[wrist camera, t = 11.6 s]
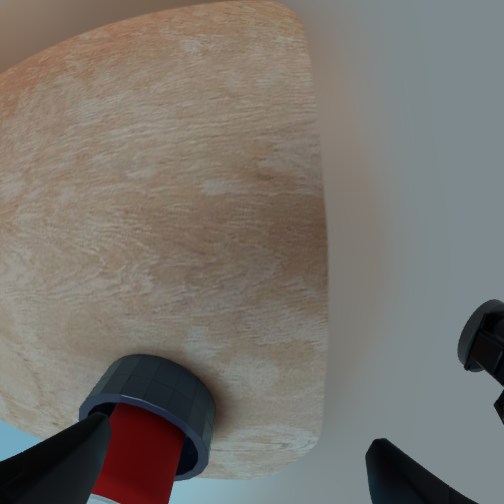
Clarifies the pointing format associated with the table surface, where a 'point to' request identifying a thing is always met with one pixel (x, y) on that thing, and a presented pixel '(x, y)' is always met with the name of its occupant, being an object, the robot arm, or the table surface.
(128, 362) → the pot
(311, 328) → the table surface
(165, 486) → the beverage can
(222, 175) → the table surface
